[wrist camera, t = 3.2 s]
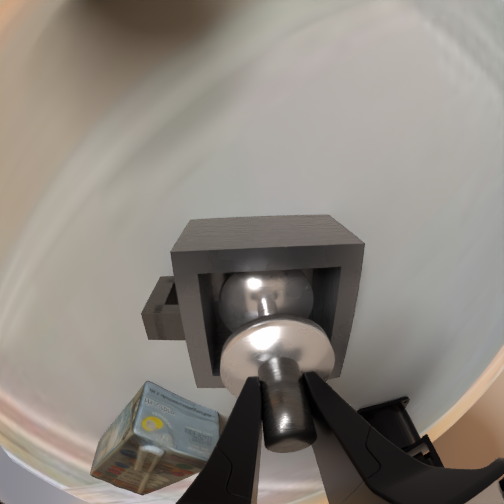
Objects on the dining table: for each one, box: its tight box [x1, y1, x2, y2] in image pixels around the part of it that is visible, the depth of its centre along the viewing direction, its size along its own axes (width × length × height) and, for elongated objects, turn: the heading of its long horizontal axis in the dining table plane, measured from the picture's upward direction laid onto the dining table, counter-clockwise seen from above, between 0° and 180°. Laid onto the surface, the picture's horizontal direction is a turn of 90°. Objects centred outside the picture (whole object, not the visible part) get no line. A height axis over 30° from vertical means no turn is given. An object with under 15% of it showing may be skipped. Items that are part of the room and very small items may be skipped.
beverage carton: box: [90, 381, 220, 495], centre depth 20 cm, size 8×19×7 cm, turn 142°
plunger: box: [218, 269, 335, 453], centre depth 11 cm, size 5×5×9 cm
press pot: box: [141, 215, 365, 388], centre depth 14 cm, size 10×8×5 cm
